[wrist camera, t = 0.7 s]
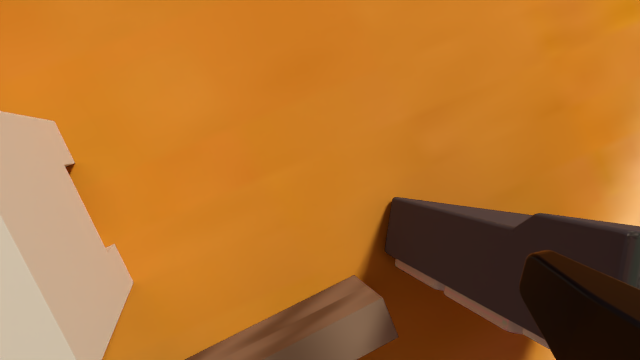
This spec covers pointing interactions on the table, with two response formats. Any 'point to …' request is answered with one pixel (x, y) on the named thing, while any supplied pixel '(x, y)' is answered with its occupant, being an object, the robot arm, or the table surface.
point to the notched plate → (51, 253)
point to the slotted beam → (315, 329)
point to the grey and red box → (500, 253)
